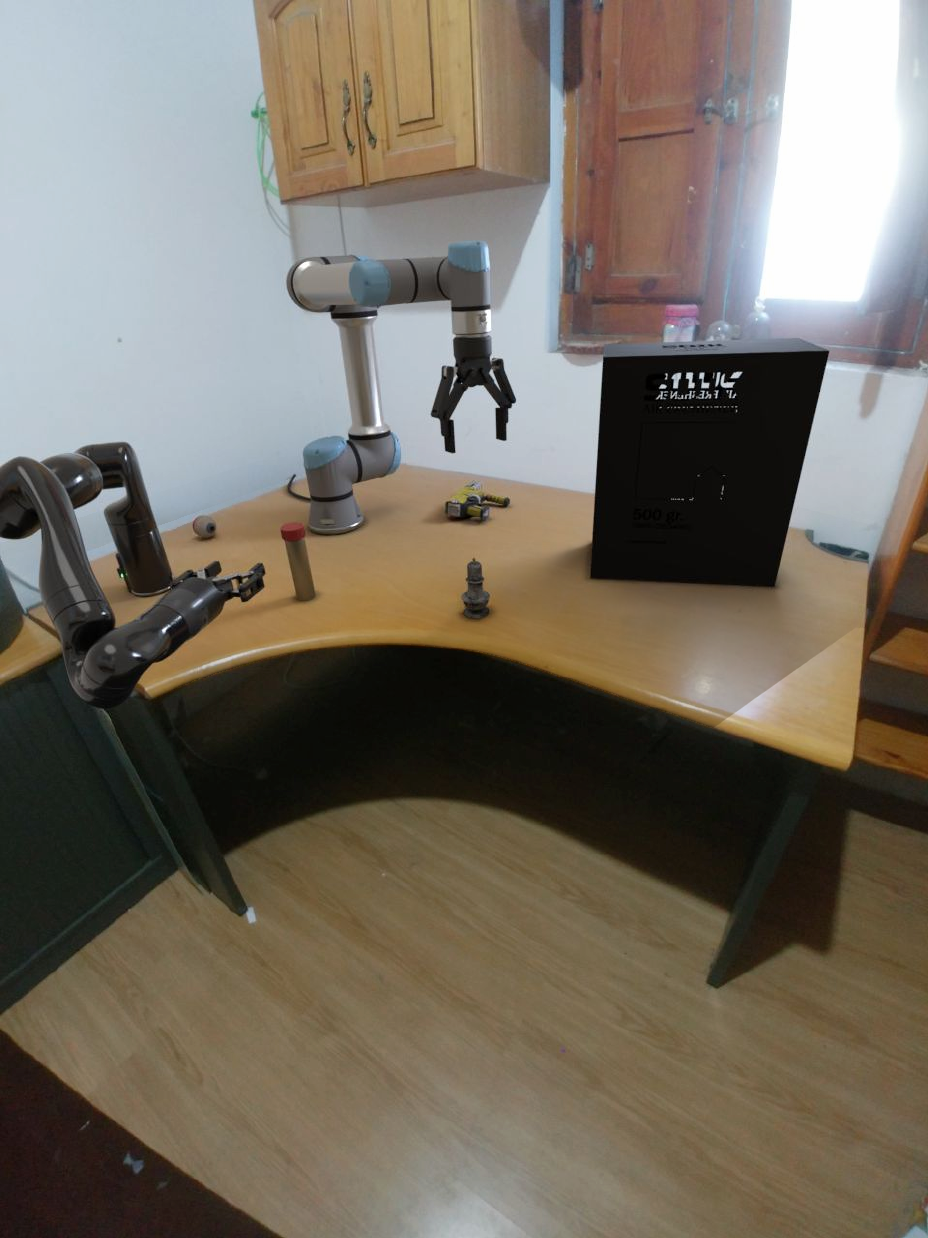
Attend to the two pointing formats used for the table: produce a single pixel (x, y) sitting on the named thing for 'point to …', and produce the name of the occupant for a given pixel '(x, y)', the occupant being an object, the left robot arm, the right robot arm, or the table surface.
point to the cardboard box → (701, 458)
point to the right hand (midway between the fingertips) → (476, 445)
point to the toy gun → (472, 502)
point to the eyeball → (204, 526)
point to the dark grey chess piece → (475, 592)
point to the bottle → (300, 569)
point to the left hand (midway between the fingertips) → (240, 566)
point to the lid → (292, 531)
